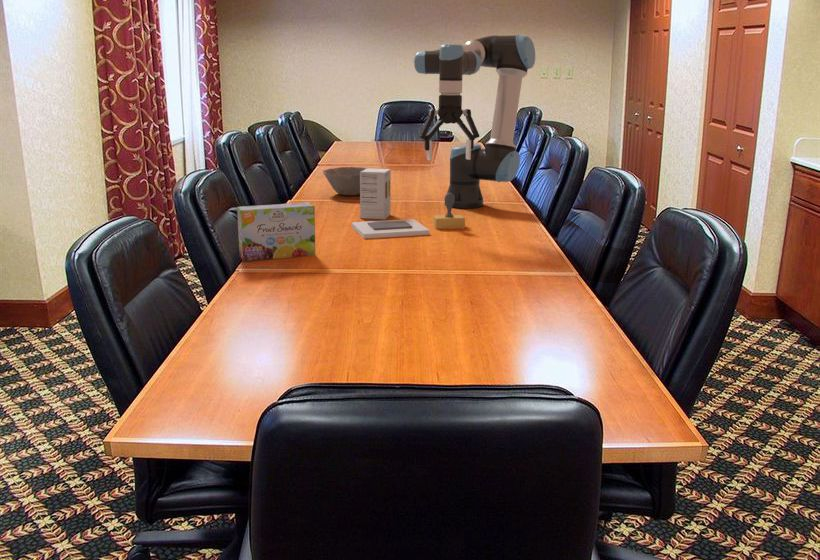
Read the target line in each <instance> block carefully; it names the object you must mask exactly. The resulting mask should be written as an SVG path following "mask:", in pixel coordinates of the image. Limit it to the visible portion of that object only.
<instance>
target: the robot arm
mask: <svg viewBox="0 0 820 560" xmlns="http://www.w3.org/2000/svg"><path fill="white" fill-rule="evenodd" d="M535 62H536V48H535V45H534V42H533V40H532V38H531V37H530V36H528V35H520V34H517V35H515V34H514V35H488V36H484V37H479V38H476V39H472V40H468V41H467V42H466V43H465V44H441V46H440V47H439V49H436V50H420V51H418V52H417V53H416V54H415V55H414V60H413V65H414V69H415V71H416V72H417V73H418V74H423V75H439V78H438V93H439V95H438V109H437V110H436V109H435V110H434V109H432V108H431V109H429V110H428V116H427V119H426V121H425V122H424V124H423V127H422V128H421V131H420V132H419V136H418V138H419V139H421V140H424V150H425V151H426V160H427V161H429V162H432V160H433V157H432V156H433V141H432V140H431V139H432V137H433V136H434V135H435V133H437V132H438V130H439V129H440V128H441V126H443V125H444V124H445V125H447V124H457V125H458V126H459V128H460V129H461V131H463V133H464V134H465V136H466V137H467V139H465V141H466V142H465V145H457V146H453V147H452V148H451V150H450V155H449V185H448V189H447V191H446V194H447V193H452V194H453V195H454V197H455V201H454V204H453V207H452V208H456V209H475V208H480V207H483V206H484V196H483V193H482V191H481V186H480V183H481V182H480V180H482V181H489V182H491V181H492V182H497V183H503V182H504V183H509V182H511V181H513V180H514V178H515V177H516V176H517V174H518V172H519V168H520V164H521V159H520V158H521V156H520V153H519V152H518V151H517V146H516V145H515V143H514V136H515V130H516V125H517V124H516V123H517V118H518V110H519V102H520V95H521V89H522V83H523V79H524V78H525V77H526V76H527V75H528V70H530V69H532V68H533V67H534V65H535ZM481 67H484V68H494V69H495V68H496V69H495V72H496V73H497V74H498V83H497V90H496V97H495V103H494V111H493V118H492V124H491V125H492V126H491V132H490V139H489V140H488V141H487V142H486V143H485V145H484V148H482V146H481V144H474V143H475V142H474V141H475V140H476V139H477V138H479V137H480V134H479V131H478V129H477V126H476V124H475V121H474V120H473V117H472V110H471V109H469V108H466V109H462V106H463V96H462V95H461V94H462V93H463V75H465V76H471V75H474V74H476V73H478V72H479V70H480V69H481ZM436 116H438V119H437V120H436V122H435V124H434V125H433V126H432V127H431V125H432V123H433V121H434V119H435V117H436ZM462 116H464V117H465V119H466V121H467V124H468V126H469V128H470V130H469V128H468V127H467V126H466V124H465V123H464V121H463V120H462V119H461V117H462ZM444 205H445V206H446V204H445V203H444Z"/></svg>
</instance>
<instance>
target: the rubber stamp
mask: <svg viewBox="0 0 820 560" xmlns="http://www.w3.org/2000/svg"><path fill="white" fill-rule="evenodd" d="M454 201H455V197H454V195H453V194H452V193H447V192H446V194H445V196H444V205H445V204H446V205H445V206H446V209H447V213H446V214H443V215H442V214H440V215H439V214H438V215H437V214H436V215H433V227H434V229H435V230H458V229H459V230H464V229H465V227H466V218H465V217H464V216H463V215H462V214H453V213H452V209H453V208H454V207H453V204H454Z"/></svg>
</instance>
